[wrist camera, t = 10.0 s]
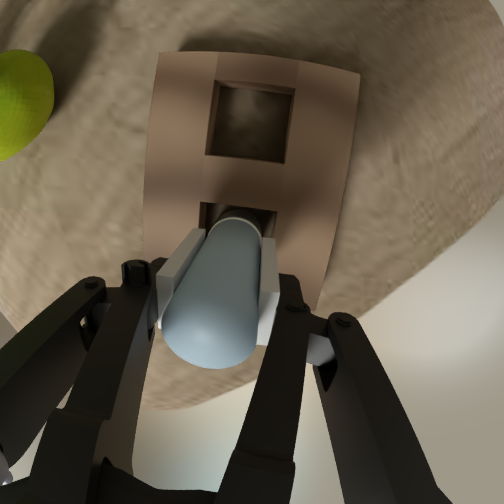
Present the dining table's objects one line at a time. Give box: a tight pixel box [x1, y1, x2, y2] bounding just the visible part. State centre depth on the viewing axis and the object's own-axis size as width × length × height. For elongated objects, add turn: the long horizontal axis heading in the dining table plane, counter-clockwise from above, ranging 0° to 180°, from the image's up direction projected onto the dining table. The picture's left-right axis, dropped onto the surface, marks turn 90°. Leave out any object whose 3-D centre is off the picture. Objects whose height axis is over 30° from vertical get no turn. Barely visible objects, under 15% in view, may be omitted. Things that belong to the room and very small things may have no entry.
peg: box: [161, 209, 262, 369], centre depth 15 cm, size 4×4×12 cm
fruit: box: [0, 50, 54, 162], centre depth 12 cm, size 9×9×10 cm
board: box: [143, 51, 361, 311], centre depth 18 cm, size 17×13×2 cm
